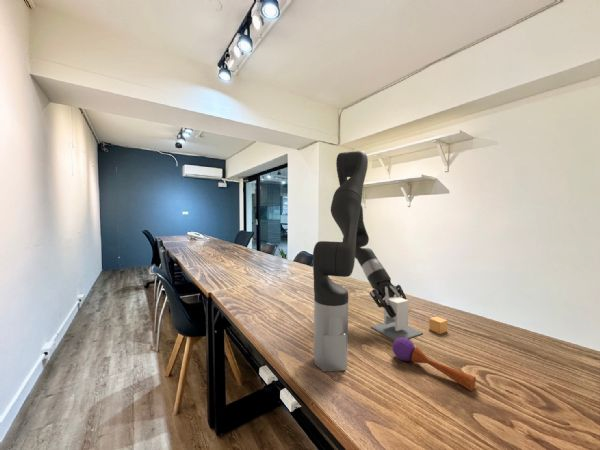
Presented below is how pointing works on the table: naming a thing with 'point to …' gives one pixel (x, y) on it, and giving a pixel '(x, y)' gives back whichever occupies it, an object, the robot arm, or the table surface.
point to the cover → (398, 313)
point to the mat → (393, 334)
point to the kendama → (430, 362)
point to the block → (438, 325)
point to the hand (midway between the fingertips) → (400, 315)
